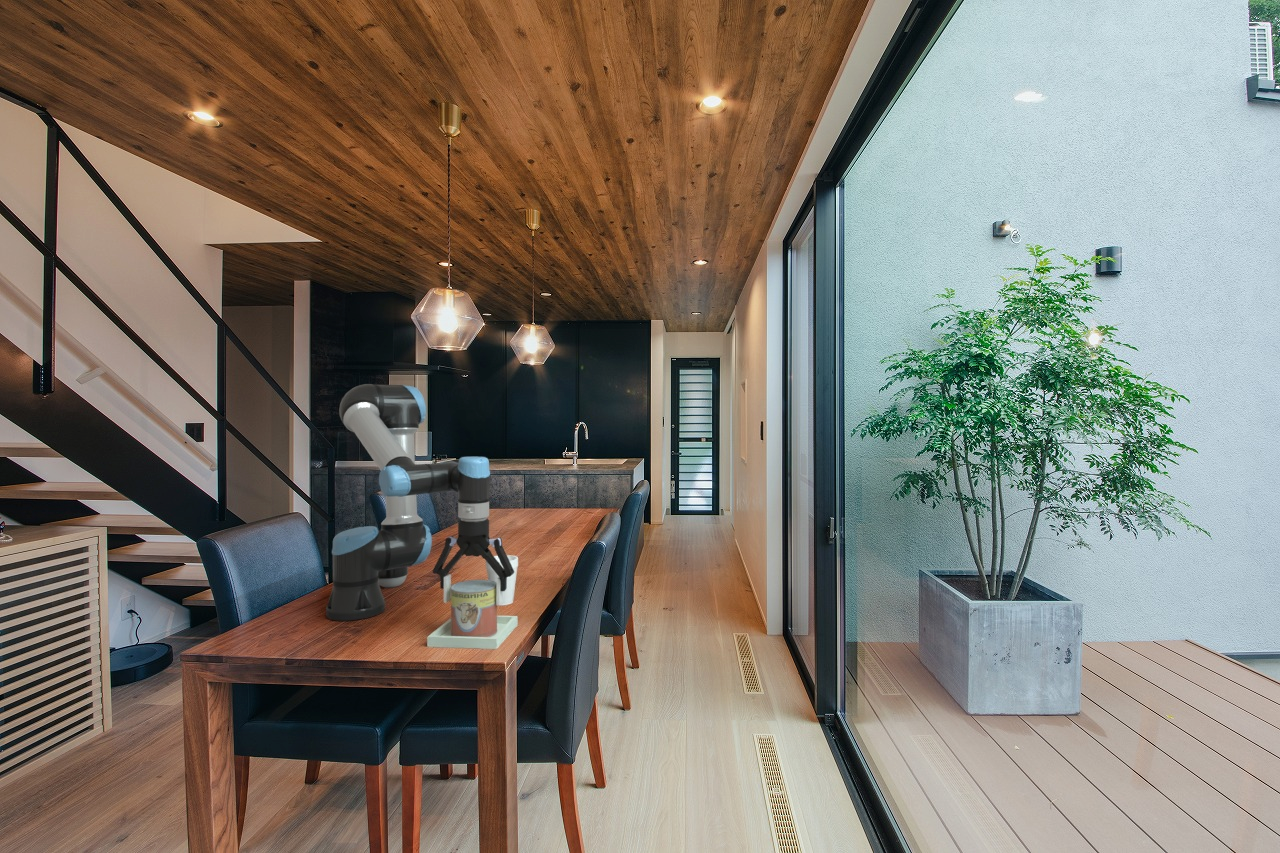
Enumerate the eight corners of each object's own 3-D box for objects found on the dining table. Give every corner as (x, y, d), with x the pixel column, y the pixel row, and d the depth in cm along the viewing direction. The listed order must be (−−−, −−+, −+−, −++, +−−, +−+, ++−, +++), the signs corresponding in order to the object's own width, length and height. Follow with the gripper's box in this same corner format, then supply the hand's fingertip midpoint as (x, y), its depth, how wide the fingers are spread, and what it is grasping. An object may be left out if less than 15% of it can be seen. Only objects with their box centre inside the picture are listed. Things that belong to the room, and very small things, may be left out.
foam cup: (499, 609, 177) (499, 563, 177) (479, 603, 182) (479, 559, 182) (525, 601, 184) (524, 557, 184) (504, 595, 190) (504, 553, 190)
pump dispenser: (401, 589, 197) (400, 542, 197) (369, 589, 197) (368, 542, 197) (413, 581, 207) (413, 536, 207) (382, 581, 208) (382, 536, 207)
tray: (427, 646, 148) (427, 636, 148) (455, 623, 165) (455, 614, 165) (496, 649, 146) (496, 639, 146) (517, 625, 163) (517, 616, 163)
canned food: (444, 640, 150) (443, 591, 150) (459, 625, 161) (459, 579, 161) (490, 641, 149) (489, 592, 149) (502, 625, 161) (502, 579, 161)
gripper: (419, 519, 152) (418, 605, 153) (518, 522, 150) (517, 609, 151) (432, 514, 160) (432, 595, 161) (526, 517, 158) (525, 600, 158)
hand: (473, 602), depth 156 cm, fingers open, 13 cm apart
